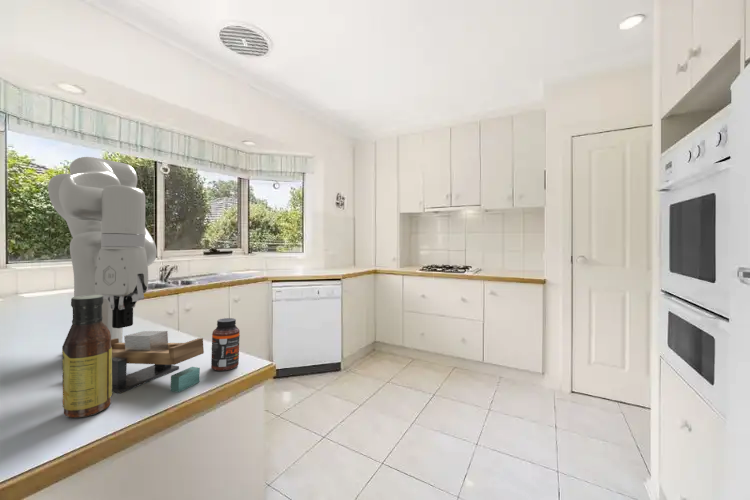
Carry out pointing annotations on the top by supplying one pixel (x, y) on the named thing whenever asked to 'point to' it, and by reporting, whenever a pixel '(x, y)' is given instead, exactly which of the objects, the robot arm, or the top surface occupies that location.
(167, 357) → the beam
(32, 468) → the top surface
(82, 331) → the sauce bottle
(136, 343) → the rider
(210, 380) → the top surface
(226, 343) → the supplement bottle
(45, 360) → the top surface
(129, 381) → the fulcrum
